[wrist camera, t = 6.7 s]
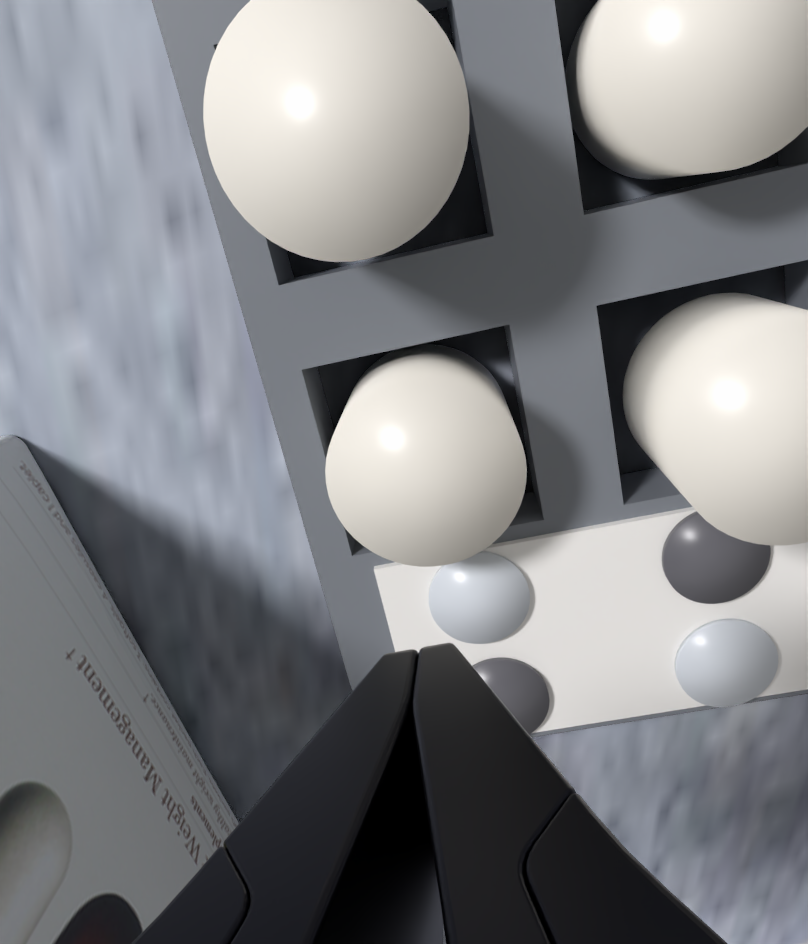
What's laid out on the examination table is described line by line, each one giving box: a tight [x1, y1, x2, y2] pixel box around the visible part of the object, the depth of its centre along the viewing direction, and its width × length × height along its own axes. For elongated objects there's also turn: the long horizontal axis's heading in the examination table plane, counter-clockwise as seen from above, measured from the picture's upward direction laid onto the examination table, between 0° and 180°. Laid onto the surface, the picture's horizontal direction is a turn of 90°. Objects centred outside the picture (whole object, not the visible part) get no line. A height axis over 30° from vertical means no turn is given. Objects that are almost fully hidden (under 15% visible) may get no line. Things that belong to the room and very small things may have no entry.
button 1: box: [203, 0, 469, 262], centre depth 14 cm, size 4×4×4 cm
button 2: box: [325, 344, 527, 567], centre depth 18 cm, size 4×4×4 cm
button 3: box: [565, 0, 808, 180], centre depth 15 cm, size 4×4×4 cm
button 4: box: [623, 293, 808, 545], centre depth 16 cm, size 4×4×4 cm
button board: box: [152, 0, 808, 737], centre depth 18 cm, size 14×20×2 cm
